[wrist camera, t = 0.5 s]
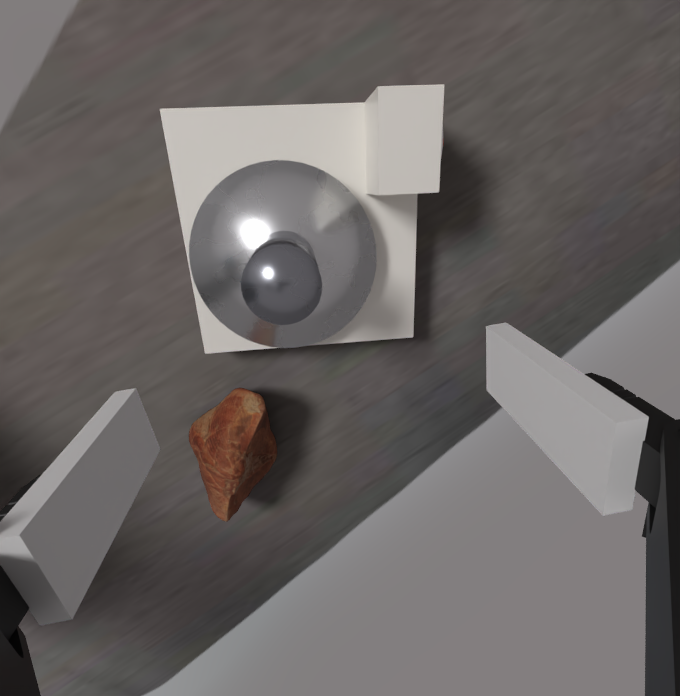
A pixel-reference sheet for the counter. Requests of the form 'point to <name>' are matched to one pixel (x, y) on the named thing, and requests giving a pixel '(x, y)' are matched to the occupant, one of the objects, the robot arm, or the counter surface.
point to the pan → (282, 215)
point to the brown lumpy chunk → (233, 449)
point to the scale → (337, 160)
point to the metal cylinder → (282, 279)
